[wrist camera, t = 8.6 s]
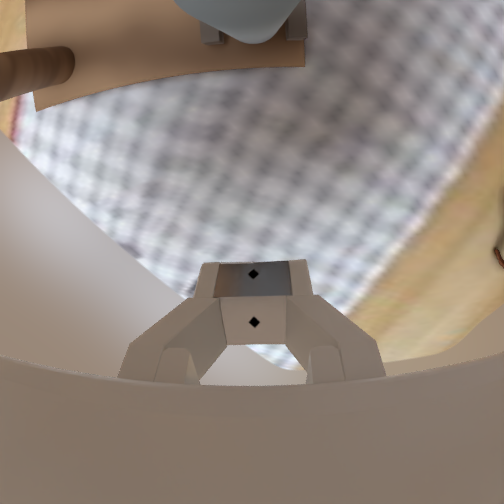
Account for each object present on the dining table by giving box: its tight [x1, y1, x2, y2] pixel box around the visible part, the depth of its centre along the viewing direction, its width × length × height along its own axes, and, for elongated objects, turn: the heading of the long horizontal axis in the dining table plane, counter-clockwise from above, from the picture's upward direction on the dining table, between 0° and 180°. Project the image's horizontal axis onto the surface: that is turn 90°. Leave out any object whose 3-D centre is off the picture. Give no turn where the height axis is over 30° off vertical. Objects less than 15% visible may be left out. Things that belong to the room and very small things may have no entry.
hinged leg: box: [174, 0, 301, 44], centre depth 9 cm, size 3×3×12 cm
